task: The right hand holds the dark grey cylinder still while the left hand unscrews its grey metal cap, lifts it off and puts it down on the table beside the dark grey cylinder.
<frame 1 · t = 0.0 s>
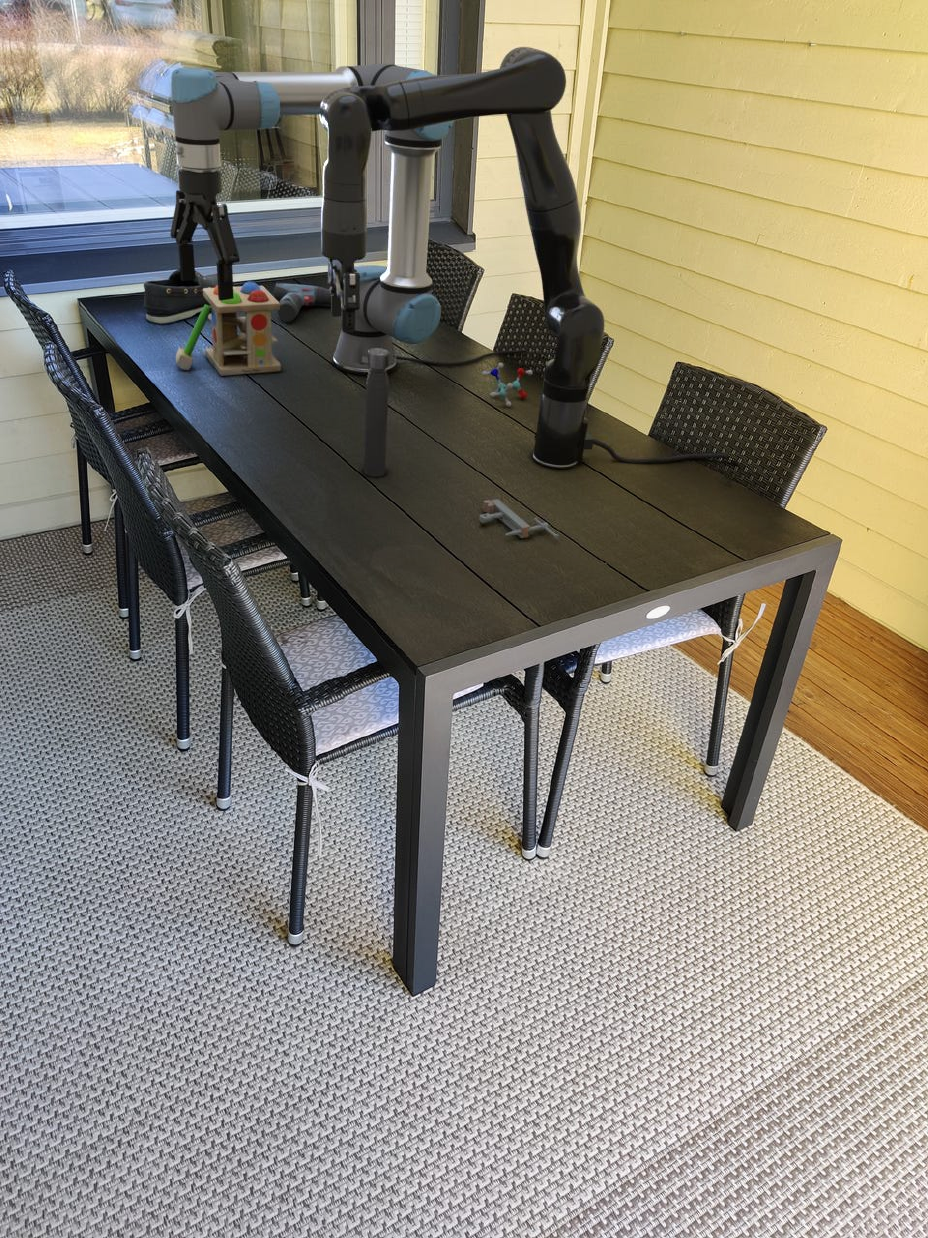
left hand: (206, 289, 186), 28 cm above the table, tool pointing down, fingers open, 13 cm apart
right hand: (342, 323, 172), 29 cm above the table, tool pointing down, fingers open, 8 cm apart
boat shoe: (192, 307, 263), on the table
cap: (378, 353, 177), point 24 cm above the table, screwed on, not yet turned
power drill: (305, 313, 267), on the table
dark grey cylinder: (374, 472, 190), on the table
molecular model: (503, 399, 227), on the table
clamp: (513, 528, 176), on the table
pounding bench toy: (225, 365, 230), on the table
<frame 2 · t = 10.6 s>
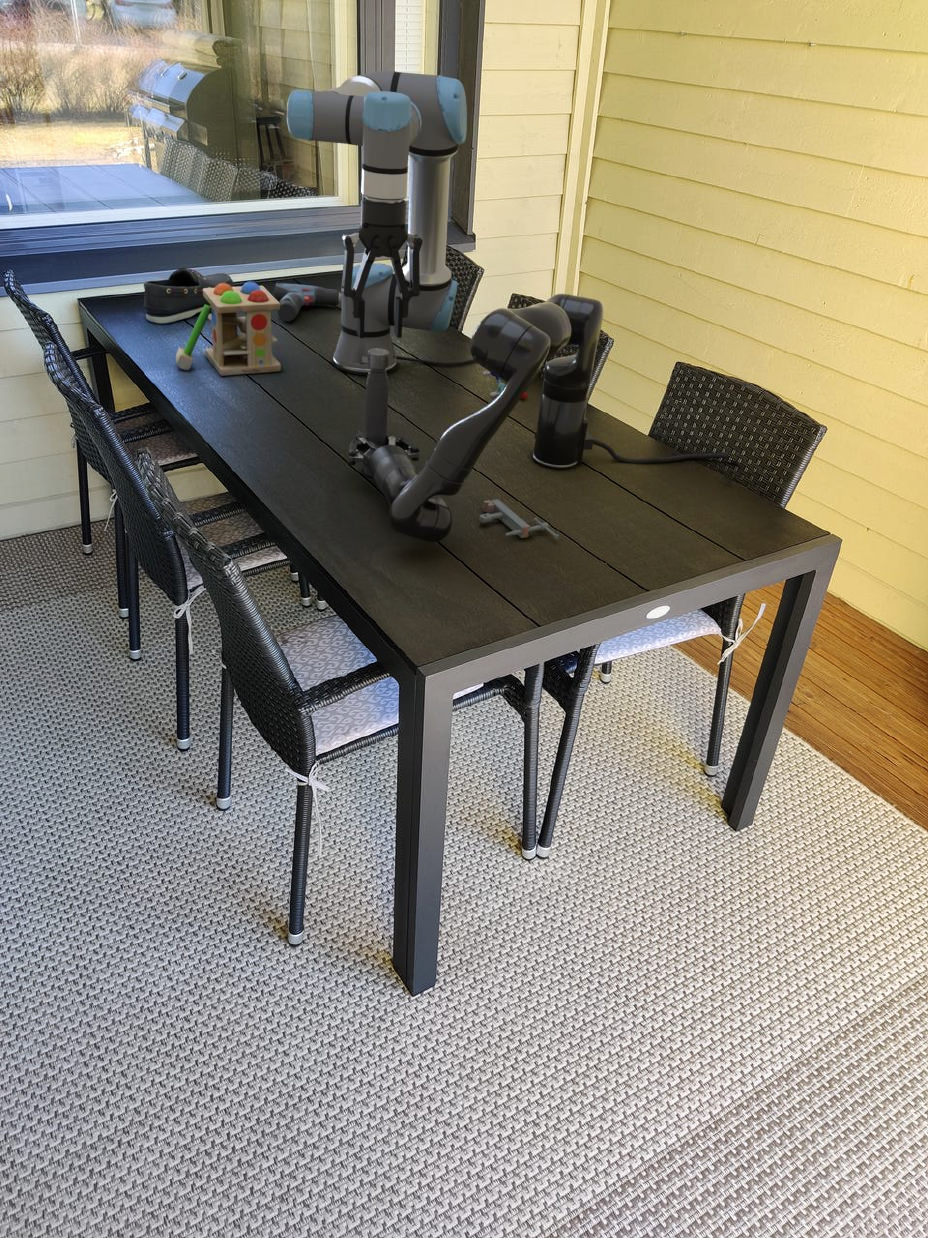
left hand: (379, 335, 175), 27 cm above the table, tool pointing down, fingers open, 6 cm apart
right hand: (371, 434, 189), 7 cm above the table, tool horizontal, fingers closed on dark grey cylinder, 4 cm apart
dark grey cylinder: (374, 472, 190), on the table, touching right hand
everything else where it was.
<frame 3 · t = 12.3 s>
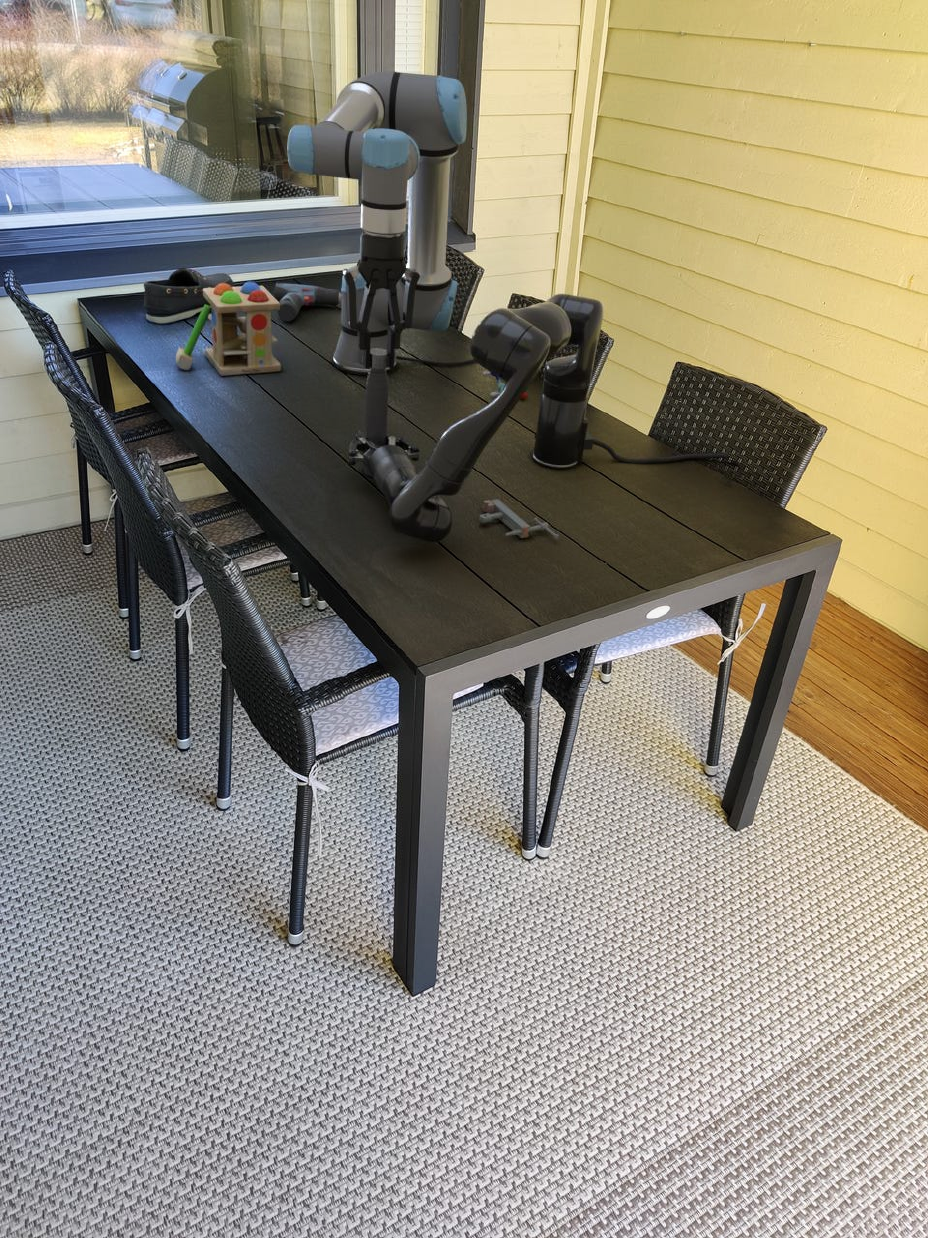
left hand: (378, 365, 178), 21 cm above the table, tool pointing down, fingers closed on cap, 4 cm apart
right hand: (371, 434, 189), 7 cm above the table, tool horizontal, fingers closed on dark grey cylinder, 4 cm apart
cap: (378, 353, 177), point 24 cm above the table, screwed on, not yet turned, touching left hand
dark grey cylinder: (374, 472, 190), on the table, touching right hand
everything else where it was.
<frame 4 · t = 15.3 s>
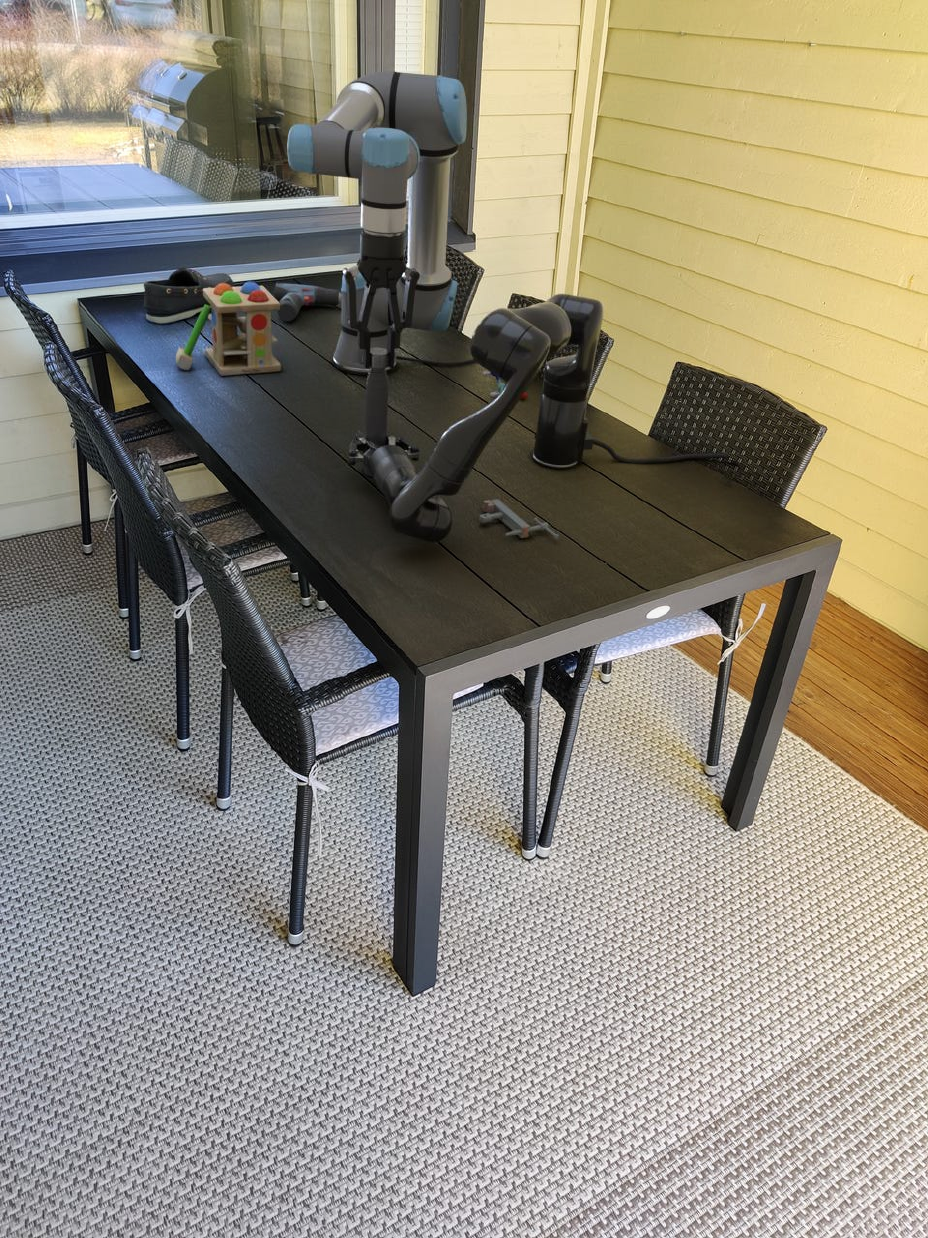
left hand: (378, 365, 178), 21 cm above the table, tool pointing down, fingers closed on cap, 4 cm apart
right hand: (371, 434, 189), 7 cm above the table, tool horizontal, fingers closed on dark grey cylinder, 4 cm apart
cap: (378, 352, 177), point 24 cm above the table, turned 101° so far, risen 0.1 cm, still on its thread, touching left hand
dark grey cylinder: (374, 472, 190), on the table, touching right hand
everything else where it was.
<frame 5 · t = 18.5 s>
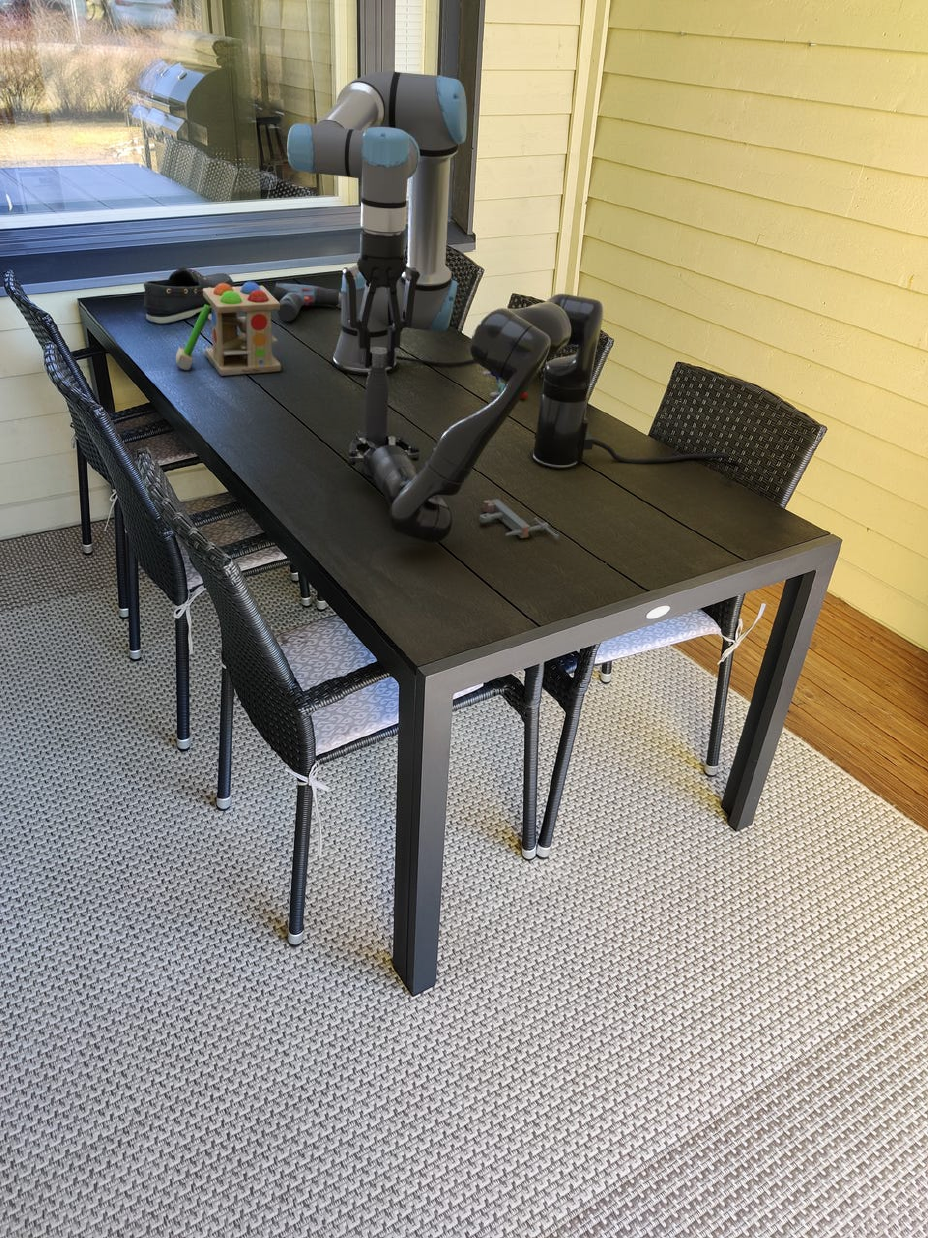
left hand: (378, 364, 178), 22 cm above the table, tool pointing down, fingers closed on cap, 4 cm apart
right hand: (371, 434, 189), 7 cm above the table, tool horizontal, fingers closed on dark grey cylinder, 4 cm apart
cap: (378, 351, 177), point 24 cm above the table, turned 202° so far, risen 0.2 cm, still on its thread, touching left hand
dark grey cylinder: (374, 472, 190), on the table, touching right hand
everything else where it was.
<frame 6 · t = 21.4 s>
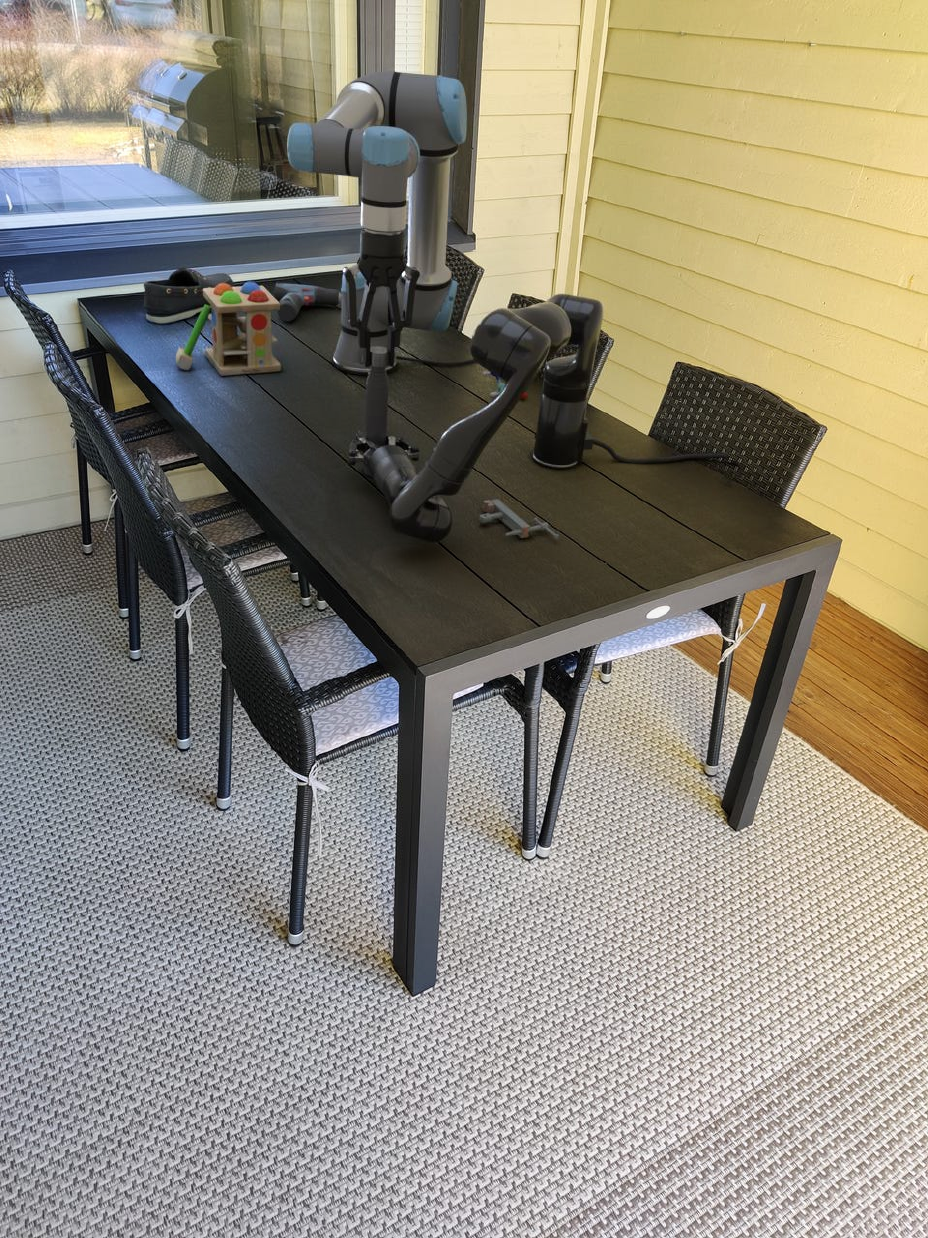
left hand: (378, 364, 178), 22 cm above the table, tool pointing down, fingers closed on cap, 4 cm apart
right hand: (371, 434, 189), 7 cm above the table, tool horizontal, fingers closed on dark grey cylinder, 4 cm apart
cap: (378, 351, 177), point 24 cm above the table, turned 304° so far, risen 0.3 cm, still on its thread, touching left hand
dark grey cylinder: (374, 472, 190), on the table, touching right hand
everything else where it was.
when the left hand's fingers open (1 cm above the table, at t = 27.7 s): cap drops 1 cm, point 2 cm above the table.
when the right hand's fingers open (7 cm above the table, at t = 29.0 s): dark grey cylinder stays where it is, on the table.
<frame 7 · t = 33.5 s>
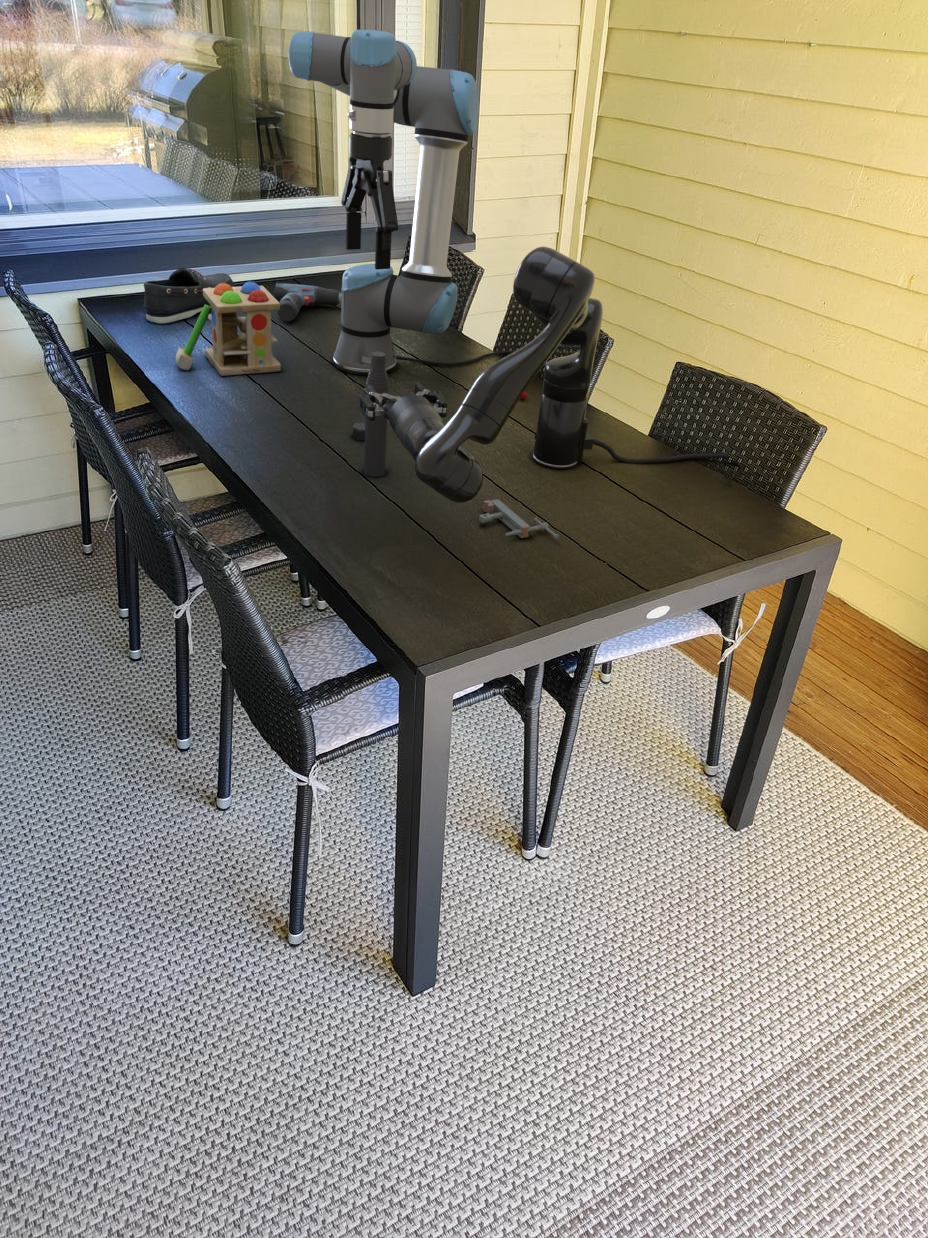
left hand: (367, 258, 183), 36 cm above the table, tool pointing down, fingers open, 13 cm apart
right hand: (392, 388, 170), 21 cm above the table, tool horizontal, fingers open, 8 cm apart
cap: (362, 426, 202), point 2 cm above the table, off its thread
dark grey cylinder: (374, 472, 190), on the table
everything else where it was.
at the end: cap came off its thread; cap point 2.3 cm above the table; the left hand is holding nothing; the right hand is holding nothing; dark grey cylinder tilted 0°; dark grey cylinder moved 0.0 cm from its start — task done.
